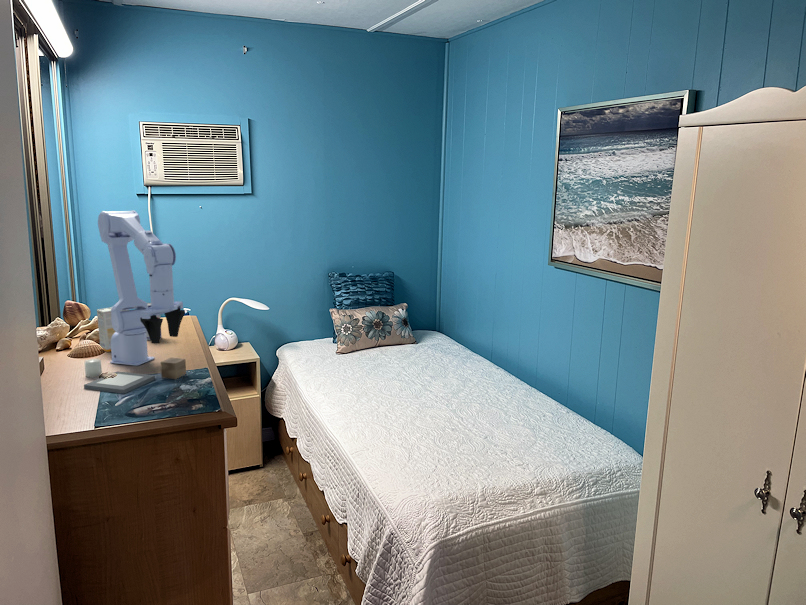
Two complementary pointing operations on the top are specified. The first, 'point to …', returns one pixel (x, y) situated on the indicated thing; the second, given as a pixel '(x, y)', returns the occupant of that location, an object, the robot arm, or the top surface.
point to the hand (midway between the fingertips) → (164, 339)
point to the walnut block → (173, 368)
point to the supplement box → (105, 328)
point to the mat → (120, 382)
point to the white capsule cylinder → (93, 367)
